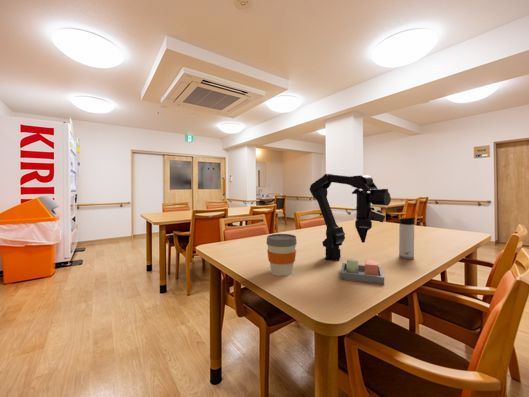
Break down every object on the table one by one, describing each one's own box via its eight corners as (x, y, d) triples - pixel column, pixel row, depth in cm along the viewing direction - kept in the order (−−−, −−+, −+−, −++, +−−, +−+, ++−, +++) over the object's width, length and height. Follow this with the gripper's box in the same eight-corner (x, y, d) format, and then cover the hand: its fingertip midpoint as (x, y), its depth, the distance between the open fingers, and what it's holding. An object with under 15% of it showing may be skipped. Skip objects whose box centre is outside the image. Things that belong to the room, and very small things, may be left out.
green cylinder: (346, 274, 93) (346, 261, 93) (346, 270, 97) (347, 258, 97) (358, 275, 92) (358, 263, 92) (358, 272, 96) (358, 260, 96)
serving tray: (340, 279, 91) (340, 272, 90) (342, 268, 102) (342, 263, 102) (384, 284, 85) (384, 277, 85) (381, 273, 96) (381, 266, 96)
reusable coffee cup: (262, 269, 102) (261, 235, 102) (287, 265, 107) (287, 232, 107) (274, 279, 91) (274, 241, 90) (302, 274, 96) (302, 238, 95)
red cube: (365, 277, 91) (365, 264, 91) (364, 273, 95) (365, 260, 95) (378, 278, 89) (378, 265, 89) (377, 274, 93) (377, 261, 93)
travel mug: (409, 260, 112) (410, 218, 111) (396, 256, 118) (396, 216, 117) (417, 258, 115) (418, 217, 114) (404, 254, 121) (404, 215, 120)
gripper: (386, 206, 91) (385, 246, 91) (382, 203, 108) (382, 237, 109) (355, 206, 95) (355, 244, 96) (356, 202, 112) (356, 235, 113)
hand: (363, 240), depth 103 cm, fingers open, 9 cm apart
